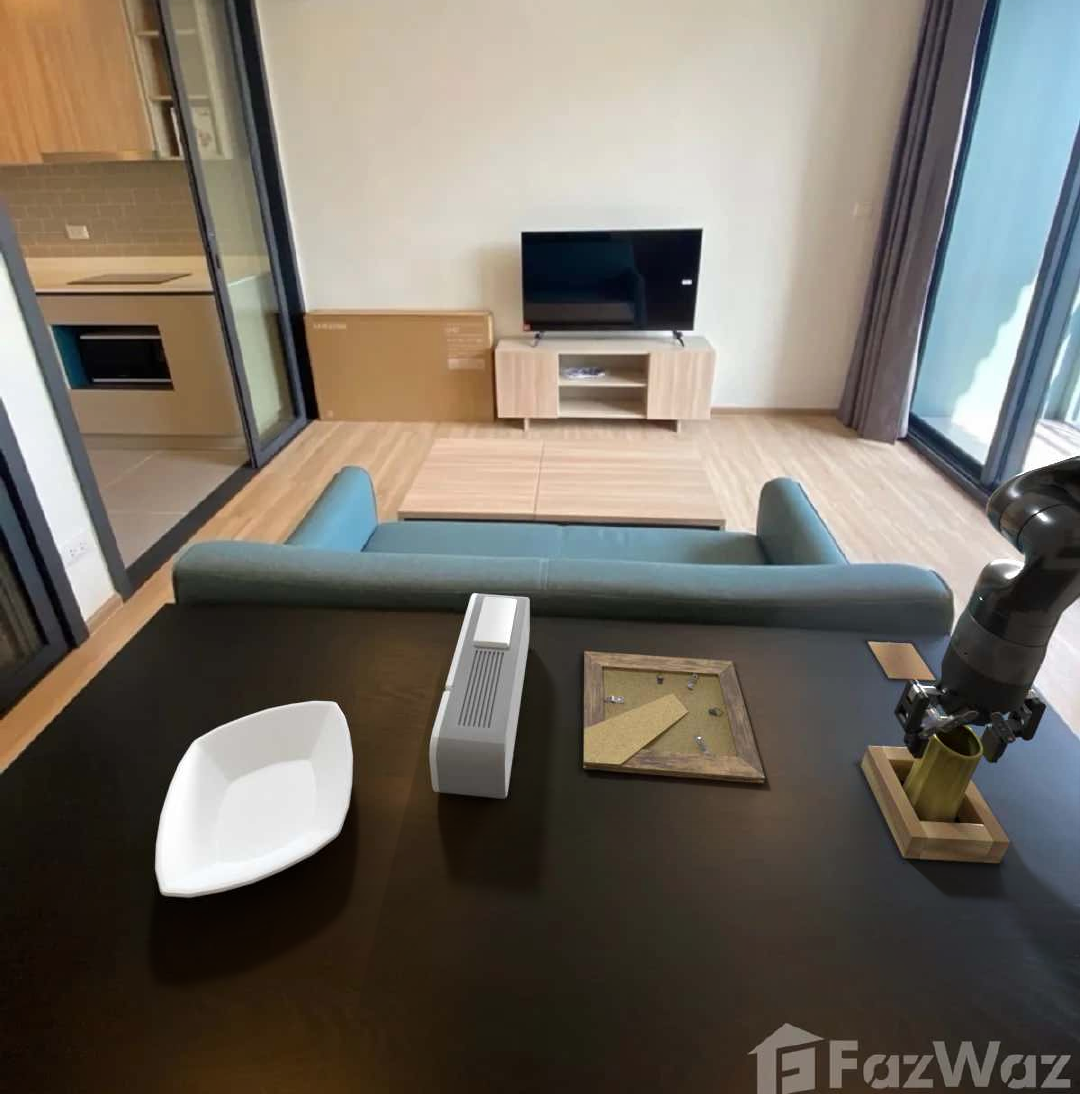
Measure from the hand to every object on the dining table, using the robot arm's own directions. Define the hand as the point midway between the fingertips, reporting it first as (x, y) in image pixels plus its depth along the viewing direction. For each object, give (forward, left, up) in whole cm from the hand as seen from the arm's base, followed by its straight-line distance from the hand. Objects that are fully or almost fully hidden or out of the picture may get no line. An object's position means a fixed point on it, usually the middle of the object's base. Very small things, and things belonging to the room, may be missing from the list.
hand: (949, 753), depth 69 cm
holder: (0, 0, -12) cm, 12 cm away
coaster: (-9, -24, -12) cm, 28 cm away
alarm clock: (+57, -11, -12) cm, 59 cm away
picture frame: (+31, -12, -12) cm, 35 cm away
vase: (0, 0, -12) cm, 12 cm away
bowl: (+83, +4, -12) cm, 84 cm away
